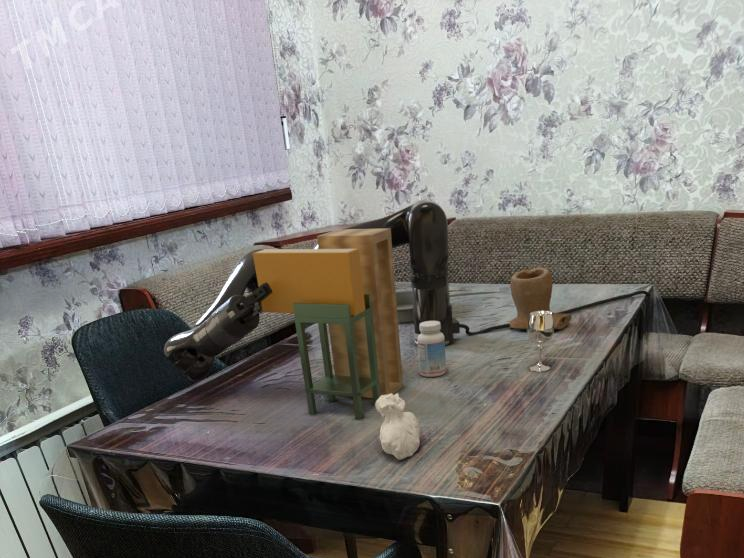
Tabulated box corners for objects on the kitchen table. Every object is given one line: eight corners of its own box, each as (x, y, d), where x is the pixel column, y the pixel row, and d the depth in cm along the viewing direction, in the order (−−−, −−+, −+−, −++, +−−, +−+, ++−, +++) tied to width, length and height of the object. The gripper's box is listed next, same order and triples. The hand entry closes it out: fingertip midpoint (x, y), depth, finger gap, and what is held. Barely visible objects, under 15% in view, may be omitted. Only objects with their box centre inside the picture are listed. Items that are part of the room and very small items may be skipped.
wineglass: (552, 372, 154) (554, 316, 148) (525, 372, 155) (526, 317, 149) (553, 364, 159) (554, 309, 153) (527, 364, 160) (527, 310, 154)
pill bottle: (449, 369, 161) (447, 319, 156) (442, 378, 156) (439, 327, 151) (424, 368, 163) (421, 319, 158) (416, 377, 158) (412, 326, 153)
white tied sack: (411, 448, 130) (372, 400, 128) (441, 426, 126) (401, 376, 124) (388, 476, 121) (345, 425, 118) (420, 454, 116) (376, 400, 114)
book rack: (309, 414, 144) (292, 303, 133) (331, 399, 150) (317, 292, 139) (360, 419, 139) (347, 305, 128) (381, 403, 146) (370, 293, 134)
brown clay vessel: (502, 334, 183) (502, 273, 175) (516, 322, 192) (516, 264, 185) (560, 336, 177) (563, 274, 169) (572, 324, 186) (574, 264, 178)
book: (262, 312, 139) (252, 252, 134) (274, 307, 142) (264, 249, 137) (355, 315, 131) (348, 252, 125) (365, 310, 134) (359, 248, 128)
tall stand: (337, 395, 152) (316, 236, 136) (355, 383, 158) (337, 229, 142) (386, 399, 147) (371, 235, 131) (403, 386, 153) (390, 228, 137)
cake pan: (463, 306, 213) (463, 290, 210) (421, 327, 195) (420, 310, 193) (395, 302, 225) (393, 287, 223) (349, 321, 207) (348, 305, 205)
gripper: (199, 314, 140) (248, 272, 130) (242, 297, 151) (291, 257, 141) (221, 347, 142) (271, 308, 132) (262, 328, 153) (311, 291, 143)
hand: (281, 282), depth 136 cm, fingers open, 8 cm apart
